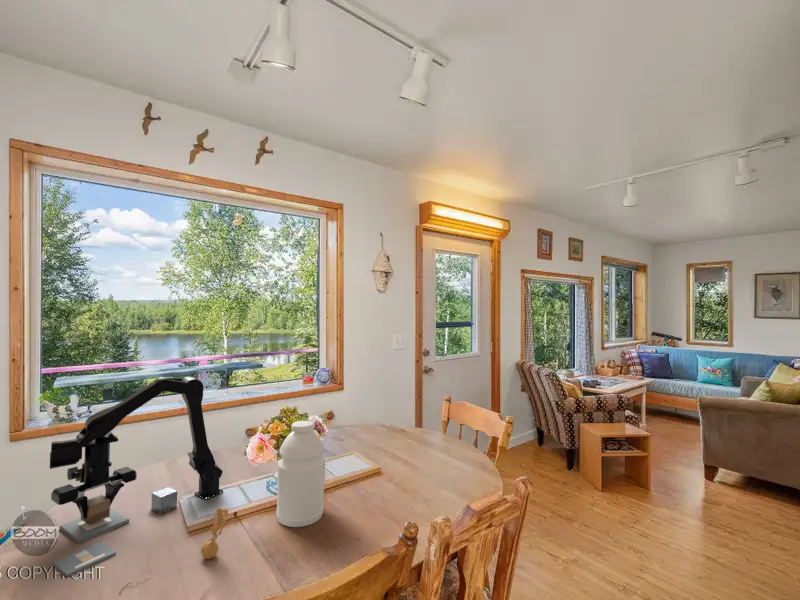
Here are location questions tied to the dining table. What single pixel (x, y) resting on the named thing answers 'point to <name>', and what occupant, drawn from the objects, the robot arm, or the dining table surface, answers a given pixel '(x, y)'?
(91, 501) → the walnut cube
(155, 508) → the metal cube
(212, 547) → the figurine
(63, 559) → the board
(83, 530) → the base plate
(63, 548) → the dining table surface
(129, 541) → the dining table surface
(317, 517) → the bottle
